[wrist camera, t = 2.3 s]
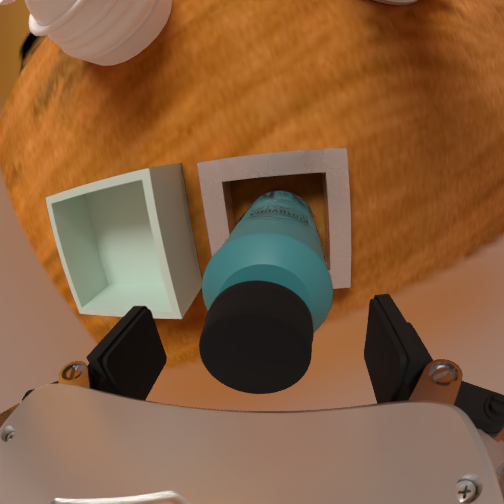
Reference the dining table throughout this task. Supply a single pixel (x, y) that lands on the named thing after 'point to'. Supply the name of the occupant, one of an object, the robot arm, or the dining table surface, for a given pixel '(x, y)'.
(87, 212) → the bin
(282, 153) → the socket frame
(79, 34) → the honey pot
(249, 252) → the beverage bottle
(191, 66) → the dining table surface
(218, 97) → the dining table surface
